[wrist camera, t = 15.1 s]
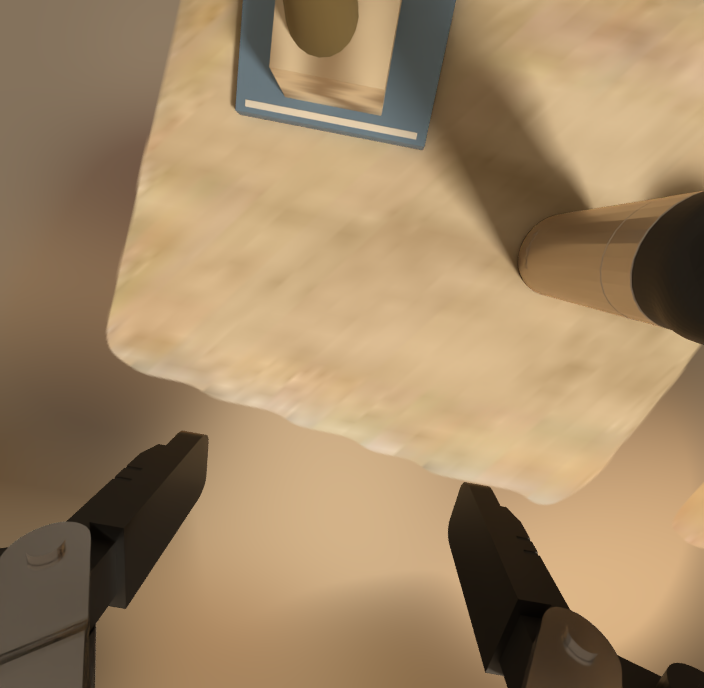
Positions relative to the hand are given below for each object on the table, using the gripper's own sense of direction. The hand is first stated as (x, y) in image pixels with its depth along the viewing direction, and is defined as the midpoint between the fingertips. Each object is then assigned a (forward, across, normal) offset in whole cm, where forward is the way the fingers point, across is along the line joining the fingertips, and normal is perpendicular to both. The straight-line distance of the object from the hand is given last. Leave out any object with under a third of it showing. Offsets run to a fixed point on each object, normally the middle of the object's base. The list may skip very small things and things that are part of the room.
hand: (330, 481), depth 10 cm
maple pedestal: (+31, +6, -25) cm, 40 cm away
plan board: (+32, +6, -25) cm, 41 cm away
